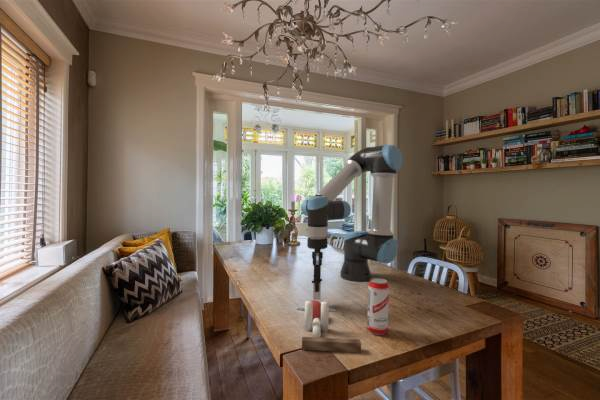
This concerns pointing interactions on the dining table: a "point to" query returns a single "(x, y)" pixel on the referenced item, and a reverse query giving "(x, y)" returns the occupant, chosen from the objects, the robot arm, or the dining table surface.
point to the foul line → (304, 309)
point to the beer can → (378, 306)
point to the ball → (316, 309)
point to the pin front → (316, 328)
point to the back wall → (331, 344)
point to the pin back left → (308, 315)
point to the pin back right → (324, 316)
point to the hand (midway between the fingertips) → (316, 298)
